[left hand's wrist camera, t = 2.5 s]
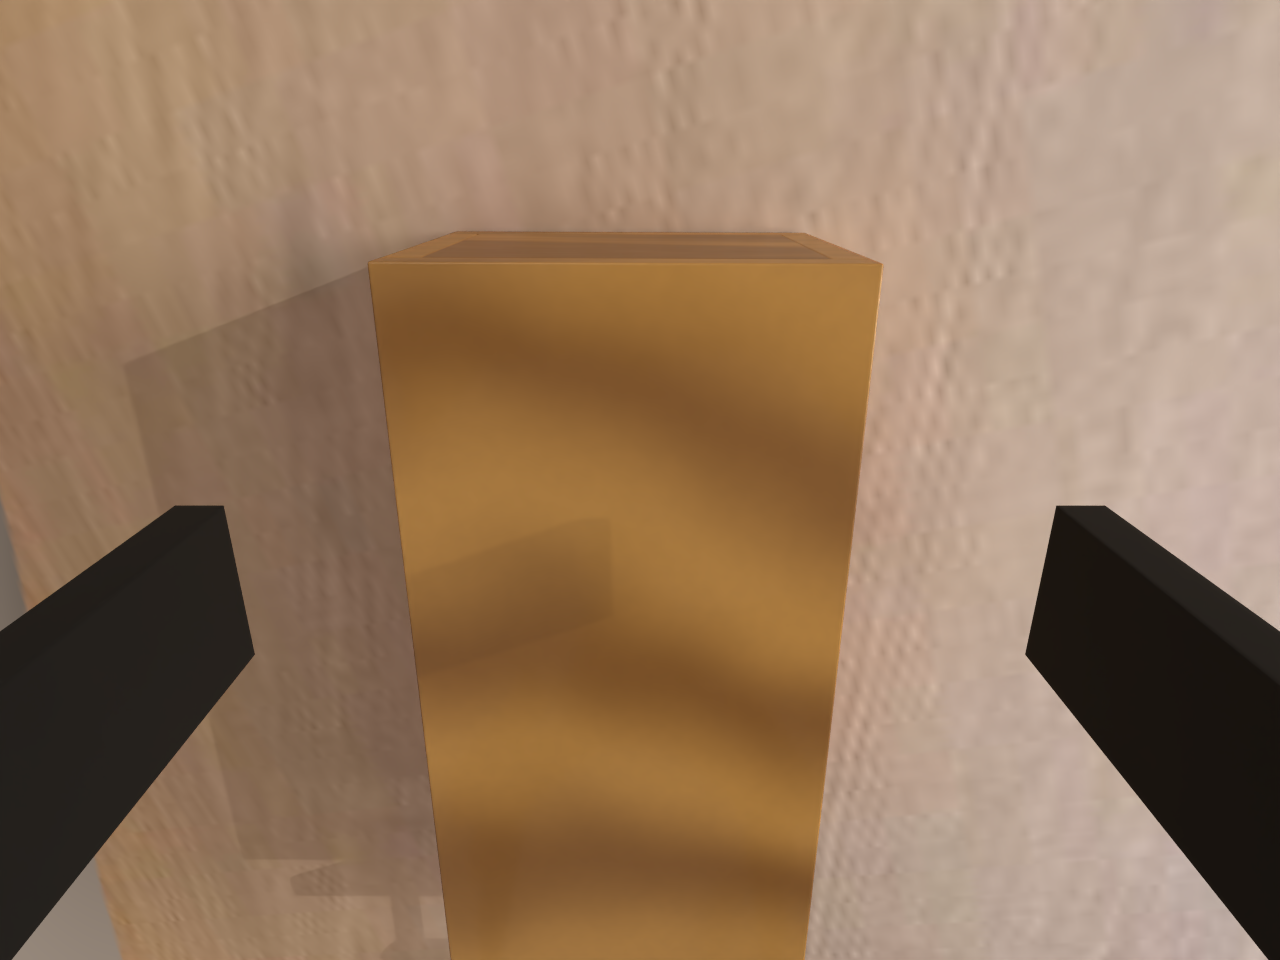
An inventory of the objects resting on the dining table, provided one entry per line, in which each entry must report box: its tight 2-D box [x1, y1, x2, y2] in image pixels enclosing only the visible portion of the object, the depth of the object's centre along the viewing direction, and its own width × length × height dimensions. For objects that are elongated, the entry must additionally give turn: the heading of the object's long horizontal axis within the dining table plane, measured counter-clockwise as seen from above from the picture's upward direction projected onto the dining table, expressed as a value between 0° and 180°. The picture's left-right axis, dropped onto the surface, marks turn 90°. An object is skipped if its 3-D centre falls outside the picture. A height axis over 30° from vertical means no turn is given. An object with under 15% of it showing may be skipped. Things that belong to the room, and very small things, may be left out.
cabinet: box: [368, 232, 883, 960], centre depth 25 cm, size 22×11×8 cm, turn 0°
